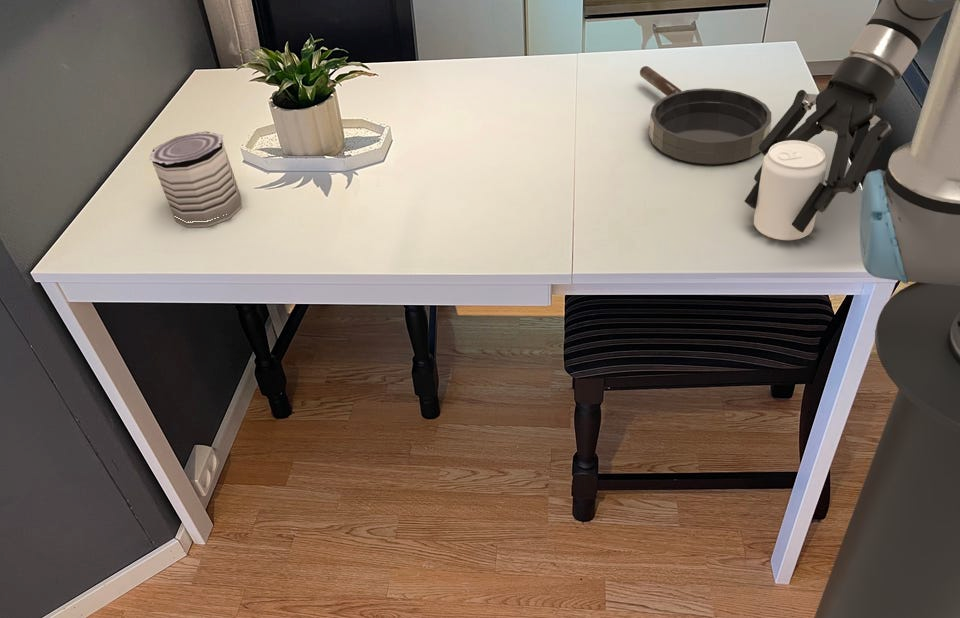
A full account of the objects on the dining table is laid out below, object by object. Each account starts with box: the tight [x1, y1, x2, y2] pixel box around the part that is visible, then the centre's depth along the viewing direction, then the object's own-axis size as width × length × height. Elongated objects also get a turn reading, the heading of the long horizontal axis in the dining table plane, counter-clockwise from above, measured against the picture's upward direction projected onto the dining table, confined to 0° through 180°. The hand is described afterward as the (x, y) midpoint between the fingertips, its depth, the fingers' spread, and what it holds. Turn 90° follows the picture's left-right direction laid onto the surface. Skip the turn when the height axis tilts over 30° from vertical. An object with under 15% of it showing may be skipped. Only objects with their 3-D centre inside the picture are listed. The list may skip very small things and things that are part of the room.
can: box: [148, 130, 243, 229], centre depth 127 cm, size 11×11×12 cm
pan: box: [648, 87, 772, 165], centre depth 133 cm, size 19×19×4 cm
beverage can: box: [753, 140, 828, 241], centre depth 109 cm, size 8×8×12 cm
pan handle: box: [639, 65, 682, 97], centre depth 144 cm, size 13×2×2 cm, turn 20°
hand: (773, 216), depth 109 cm, fingers closed on beverage can, 7 cm apart
